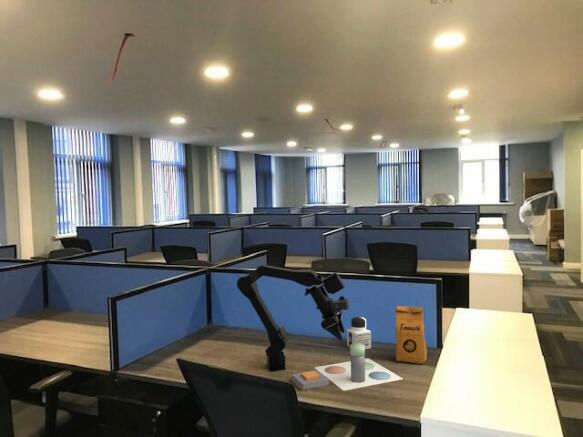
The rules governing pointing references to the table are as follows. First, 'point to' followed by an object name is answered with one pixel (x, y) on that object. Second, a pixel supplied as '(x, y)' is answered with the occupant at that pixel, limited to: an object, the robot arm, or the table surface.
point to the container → (359, 333)
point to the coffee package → (410, 335)
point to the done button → (310, 375)
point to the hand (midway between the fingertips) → (342, 336)
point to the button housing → (311, 383)
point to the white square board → (342, 374)
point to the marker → (357, 362)
